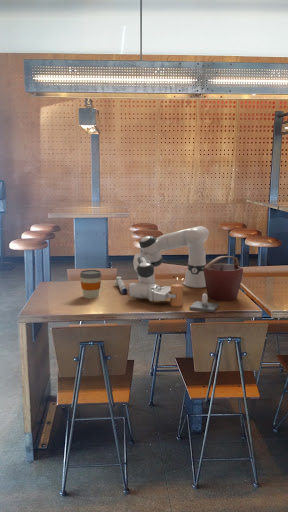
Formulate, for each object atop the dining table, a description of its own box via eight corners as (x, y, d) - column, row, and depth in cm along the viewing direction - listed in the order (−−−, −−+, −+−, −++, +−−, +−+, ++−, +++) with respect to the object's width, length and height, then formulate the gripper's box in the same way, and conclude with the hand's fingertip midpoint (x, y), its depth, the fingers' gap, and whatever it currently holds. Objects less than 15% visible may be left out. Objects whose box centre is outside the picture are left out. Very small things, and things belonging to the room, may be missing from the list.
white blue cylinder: (120, 288, 275) (114, 274, 298) (120, 298, 277) (114, 284, 300) (128, 287, 276) (122, 274, 299) (128, 298, 278) (121, 283, 301)
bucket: (232, 292, 282) (233, 252, 278) (250, 301, 261) (252, 258, 257) (196, 294, 274) (197, 254, 270) (212, 304, 254) (214, 260, 250)
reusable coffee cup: (98, 299, 263) (97, 274, 260) (77, 298, 265) (77, 273, 263) (104, 294, 275) (103, 270, 272) (84, 293, 277) (84, 269, 275)
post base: (196, 303, 255) (196, 289, 254) (218, 306, 250) (219, 292, 249) (189, 309, 243) (190, 295, 242) (213, 312, 238) (213, 297, 237)
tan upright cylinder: (172, 302, 257) (173, 283, 255) (183, 303, 254) (184, 284, 252) (169, 305, 251) (169, 286, 249) (180, 306, 248) (180, 287, 246)
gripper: (161, 293, 266) (183, 295, 261) (148, 301, 247) (172, 304, 242) (161, 282, 265) (183, 285, 260) (148, 290, 246) (172, 293, 241)
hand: (178, 294), depth 251 cm, fingers closed on tan upright cylinder, 6 cm apart
